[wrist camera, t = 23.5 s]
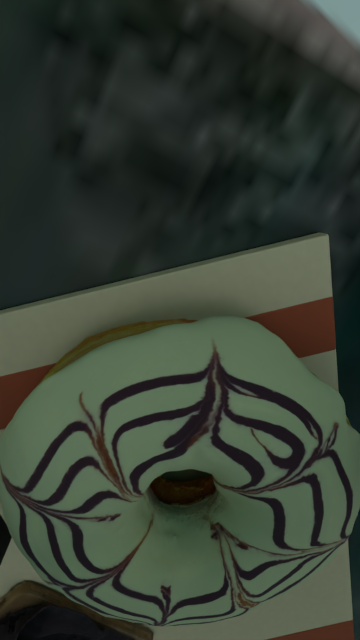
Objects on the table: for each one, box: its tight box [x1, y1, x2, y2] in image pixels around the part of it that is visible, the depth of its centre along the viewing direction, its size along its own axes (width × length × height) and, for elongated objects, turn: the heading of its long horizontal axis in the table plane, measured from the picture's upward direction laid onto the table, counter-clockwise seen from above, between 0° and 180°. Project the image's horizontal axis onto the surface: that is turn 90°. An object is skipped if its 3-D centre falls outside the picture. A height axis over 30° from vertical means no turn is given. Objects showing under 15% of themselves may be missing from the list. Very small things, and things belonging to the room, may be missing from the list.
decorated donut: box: [0, 316, 360, 626], centre depth 10 cm, size 10×11×4 cm
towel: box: [0, 233, 354, 640], centre depth 15 cm, size 24×23×1 cm
